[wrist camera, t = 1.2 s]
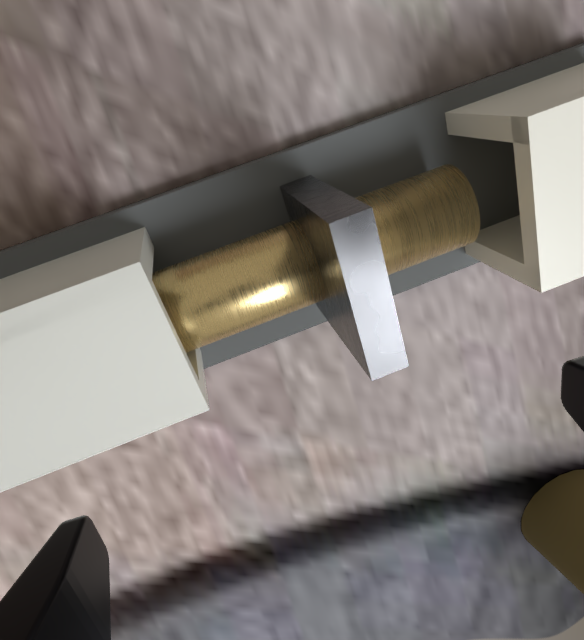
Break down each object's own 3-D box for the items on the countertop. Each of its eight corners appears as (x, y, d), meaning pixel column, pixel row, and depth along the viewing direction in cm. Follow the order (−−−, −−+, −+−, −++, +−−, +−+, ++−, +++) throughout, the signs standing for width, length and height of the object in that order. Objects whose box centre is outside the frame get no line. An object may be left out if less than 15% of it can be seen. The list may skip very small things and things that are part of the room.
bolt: (48, 408, 20) (3, 528, 14) (-26, 296, 17) (-113, 387, 12) (446, 255, 21) (546, 311, 15) (425, 132, 19) (534, 147, 13)
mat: (29, 428, 21) (26, 437, 20) (-76, 277, 18) (-83, 283, 17) (591, 211, 23) (601, 214, 22) (586, 41, 20) (599, 40, 19)
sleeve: (25, 418, 20) (-9, 495, 16) (-57, 299, 17) (-121, 356, 14) (201, 351, 20) (209, 409, 17) (144, 226, 18) (139, 261, 14)
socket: (465, 253, 21) (541, 292, 17) (444, 112, 19) (527, 117, 14) (591, 205, 22) (695, 231, 18) (587, 61, 19) (708, 51, 15)
